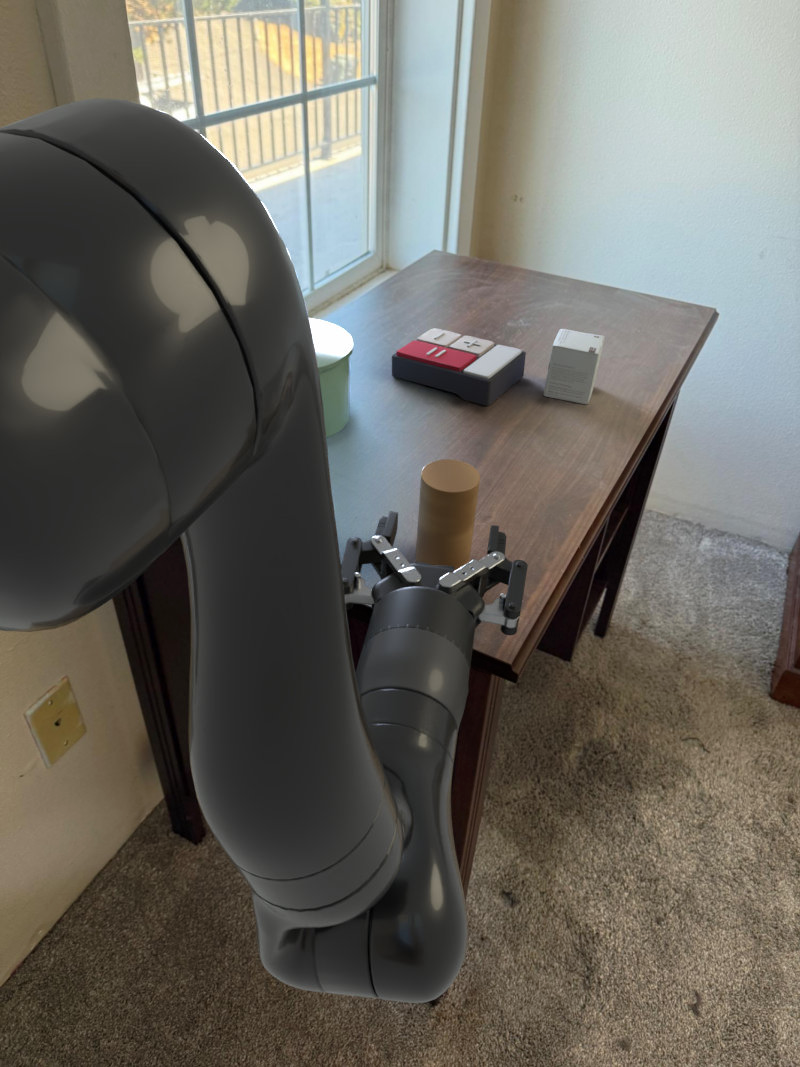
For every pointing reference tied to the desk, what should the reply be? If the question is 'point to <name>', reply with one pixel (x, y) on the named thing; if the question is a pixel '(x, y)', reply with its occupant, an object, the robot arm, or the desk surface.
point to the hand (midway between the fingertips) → (443, 526)
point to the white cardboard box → (573, 366)
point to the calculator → (460, 365)
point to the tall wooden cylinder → (446, 513)
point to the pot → (333, 372)
